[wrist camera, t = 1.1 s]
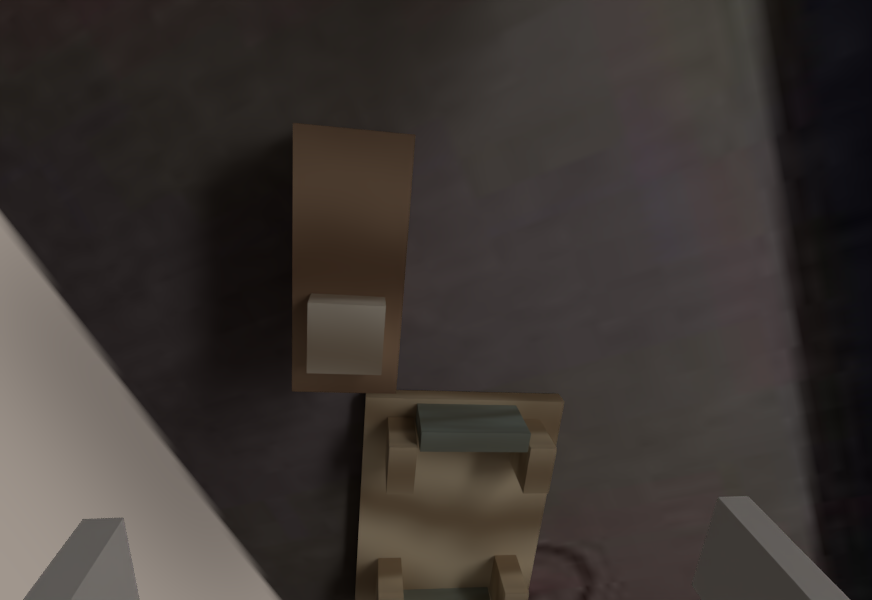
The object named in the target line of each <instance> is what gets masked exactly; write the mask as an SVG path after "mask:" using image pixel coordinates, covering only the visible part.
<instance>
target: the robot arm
mask: <svg viewBox="0 0 872 600" xmlns="http://www.w3.org/2000/svg"><path fill="white" fill-rule="evenodd" d="M692 586H693V588H694V589H695V591H696V592H697V593H698V595H699V596H700V598H701V599H702V600H850V599H849V598H848V597H847V596H846V595H845V594H844V593H843V592H842V591H841V590H840V589H839V588H838V587H837V586H836V585H835V584H834V583H833V582H832V581H831V580H830V579H829V578H828V577H827V576H826V575H825V574H824V573H823V572H822V571H821V570H820V569H819V568H818V567H817V566H816V565H815V564H814V563H813V562H812V561H811V560H810V559H809V558H808V556H807V555H806V554H805V553H804V552H803V551H802V550H801V549H800V548H799V547H798V546H797V545H796V544H795V543H794V542H793V541H792V540H791V539H790V538H789V537H788V536H787V535H786V534H785V533H784V532H783V531H782V530H781V529H780V528H779V527H778V526H777V525H776V524H775V523H774V522H773V521H772V520H771V519H770V518H769V517H768V516H767V515H766V514H765V513H764V512H763V511H762V510H761V509H760V508H759V507H758V506H757V505H756V504H755V503H754V502H753V501H752V500H751V499H750V498H749V497H748V496H735V497H718V499H717V503H716V506H715V509H714V512H713V516H712V519H711V522H710V526H709V529H708V532H707V536H706V539H705V542H704V545H703V549H702V552H701V555H700V559H699V562H698V565H697V568H696V572H695V575H694V578H693V582H692ZM23 600H139V595H138V589H137V585H136V580H135V574H134V569H133V564H132V559H131V554H130V549H129V543H128V538H127V533H126V528H125V523H124V518H105V519H104V518H103V519H102V518H101V519H83V520H82V521H81V523H80V524H79V525H78V527H77V528H76V529H75V531H74V532H73V533H72V535H71V536H70V537H69V539H68V540H67V541H66V543H65V544H64V545H63V547H62V548H61V550H60V551H59V552H58V553H57V555H56V556H55V558H54V559H53V560H52V561H51V563H50V564H49V566H48V567H47V569H46V570H45V571H44V572H43V574H42V575H41V576H40V578H39V579H38V581H37V582H36V583H35V584H34V586H33V587H32V588H31V590H30V591H29V592H28V594H27V595H26V596H25V598H24V599H23Z"/></svg>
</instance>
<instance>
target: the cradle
mask: <svg viewBox="0 0 872 600" xmlns="http://www.w3.org/2000/svg"><path fill="white" fill-rule="evenodd" d="M563 406H564V401H563V399H562V398H561V397H560V395H559V394H544V393H502V392H460V391H418V390H396V394H384V393H366V400H365V419H364V438H363V456H362V475H361V494H360V513H359V531H358V550H357V569H356V587H355V600H528V596H529V592H528V589H529V584H530V578H531V573H532V568H533V563H534V557H535V552H536V547H537V542H538V537H539V531H540V526H541V521H542V516H543V511H544V505H545V500H546V495H547V493H549V488H550V482H551V477H552V472H553V467H554V462H555V457H556V451H557V448H556V443H557V438H558V432H559V427H560V422H561V417H562V412H563Z"/></svg>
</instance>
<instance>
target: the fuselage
mask: <svg viewBox="0 0 872 600" xmlns="http://www.w3.org/2000/svg"><path fill="white" fill-rule="evenodd" d="M414 147H415V135H412V134H402V133H391V132H381V131H371V130H361V129H351V128H340V127H330V126H320V125H310V124H300V123H293V235H292V391H296V392H340V393H384V394H396V386H397V373H398V359H399V346H400V333H401V319H402V306H403V293H404V280H405V266H406V253H407V240H408V226H409V213H410V200H411V187H412V173H413V160H414Z"/></svg>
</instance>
